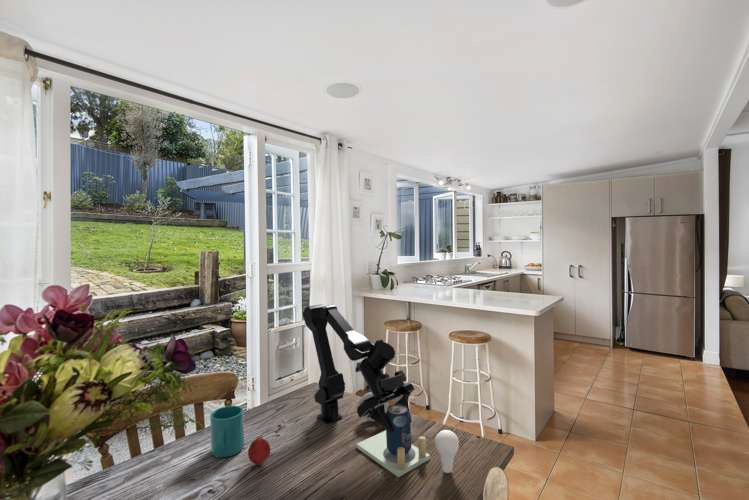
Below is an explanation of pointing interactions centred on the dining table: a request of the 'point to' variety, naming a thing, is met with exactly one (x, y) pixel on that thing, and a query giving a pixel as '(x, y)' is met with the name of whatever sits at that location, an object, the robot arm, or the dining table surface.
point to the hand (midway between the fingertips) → (401, 427)
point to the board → (395, 464)
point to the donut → (367, 398)
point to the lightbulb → (447, 448)
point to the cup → (227, 431)
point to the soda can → (398, 428)
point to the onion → (259, 451)
